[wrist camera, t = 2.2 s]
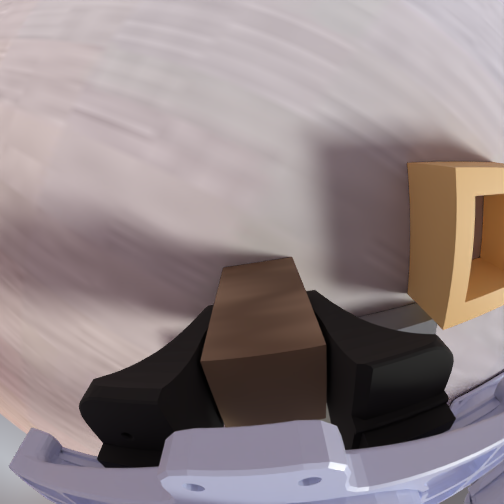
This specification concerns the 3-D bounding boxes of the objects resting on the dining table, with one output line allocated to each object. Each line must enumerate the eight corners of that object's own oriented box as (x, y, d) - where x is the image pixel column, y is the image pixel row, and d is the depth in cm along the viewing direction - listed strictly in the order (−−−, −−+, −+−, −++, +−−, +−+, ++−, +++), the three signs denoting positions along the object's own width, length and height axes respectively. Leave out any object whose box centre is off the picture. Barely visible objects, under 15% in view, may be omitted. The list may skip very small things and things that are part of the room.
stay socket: (492, 162, 12) (537, 169, 8) (487, 270, 14) (524, 294, 10) (407, 162, 12) (455, 167, 8) (407, 293, 14) (442, 329, 10)
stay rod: (292, 257, 14) (326, 344, 7) (298, 316, 15) (325, 418, 8) (223, 267, 14) (200, 361, 7) (236, 325, 15) (227, 430, 8)
